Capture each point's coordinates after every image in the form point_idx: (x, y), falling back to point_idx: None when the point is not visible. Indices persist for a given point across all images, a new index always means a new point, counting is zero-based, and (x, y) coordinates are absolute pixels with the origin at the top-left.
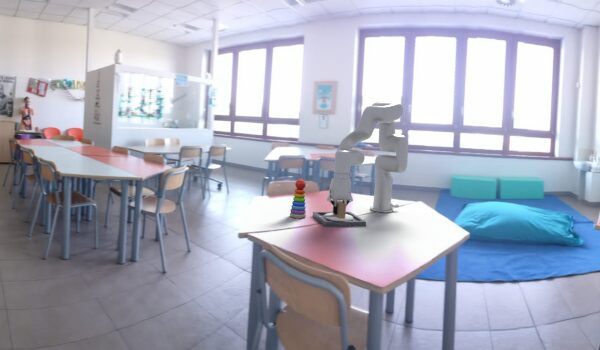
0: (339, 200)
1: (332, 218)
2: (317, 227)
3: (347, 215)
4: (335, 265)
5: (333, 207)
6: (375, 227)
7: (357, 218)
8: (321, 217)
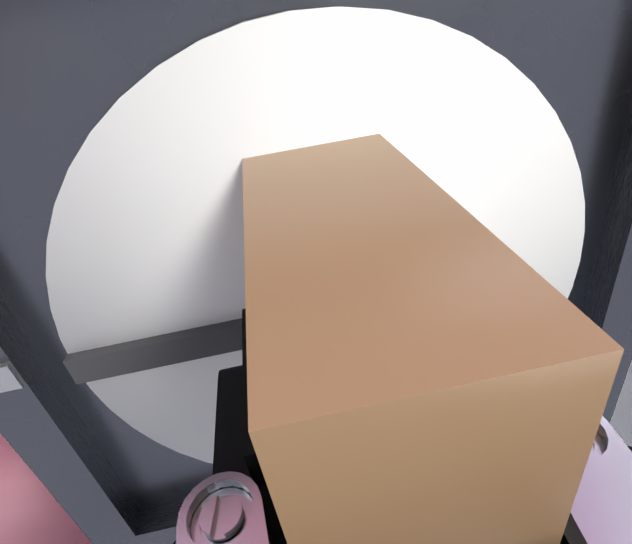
0: (562, 440)
1: (204, 448)
2: (36, 536)
3: (517, 235)
4: None
5: (220, 467)
6: (628, 422)
7: (596, 323)
8: (17, 414)
